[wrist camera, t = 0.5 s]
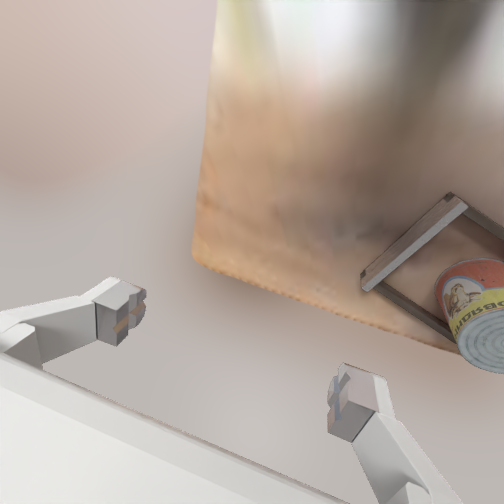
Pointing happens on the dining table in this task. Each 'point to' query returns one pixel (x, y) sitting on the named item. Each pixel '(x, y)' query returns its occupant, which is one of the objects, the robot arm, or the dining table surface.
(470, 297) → the canned food
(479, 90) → the dining table surface
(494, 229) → the frame
